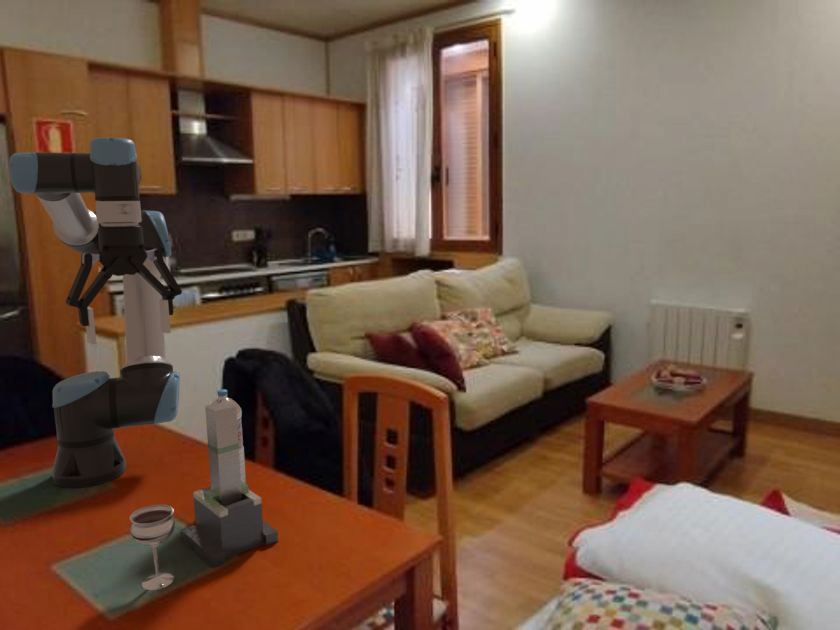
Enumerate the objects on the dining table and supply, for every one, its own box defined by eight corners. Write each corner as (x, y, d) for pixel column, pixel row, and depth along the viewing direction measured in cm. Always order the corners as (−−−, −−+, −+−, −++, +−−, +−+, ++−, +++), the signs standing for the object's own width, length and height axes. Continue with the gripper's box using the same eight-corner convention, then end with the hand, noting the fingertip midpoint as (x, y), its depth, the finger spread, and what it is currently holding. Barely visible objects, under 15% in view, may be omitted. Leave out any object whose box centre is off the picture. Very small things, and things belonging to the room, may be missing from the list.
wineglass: (176, 590, 105) (170, 521, 103) (131, 596, 104) (124, 526, 102) (182, 567, 112) (177, 502, 109) (140, 572, 110) (134, 506, 108)
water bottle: (237, 517, 129) (229, 396, 125) (206, 514, 130) (197, 394, 126) (253, 501, 136) (246, 386, 131) (223, 498, 137) (215, 385, 133)
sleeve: (181, 539, 121) (178, 494, 119) (244, 516, 129) (242, 474, 128) (212, 567, 111) (208, 519, 110) (278, 541, 120) (275, 495, 118)
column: (214, 520, 115) (206, 413, 112) (204, 512, 118) (196, 407, 115) (250, 507, 120) (244, 404, 117) (240, 500, 123) (234, 399, 120)
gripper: (49, 227, 108) (63, 351, 112) (194, 222, 125) (201, 330, 129) (38, 226, 114) (52, 344, 118) (178, 222, 130) (186, 325, 134)
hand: (130, 337), depth 123 cm, fingers open, 13 cm apart
